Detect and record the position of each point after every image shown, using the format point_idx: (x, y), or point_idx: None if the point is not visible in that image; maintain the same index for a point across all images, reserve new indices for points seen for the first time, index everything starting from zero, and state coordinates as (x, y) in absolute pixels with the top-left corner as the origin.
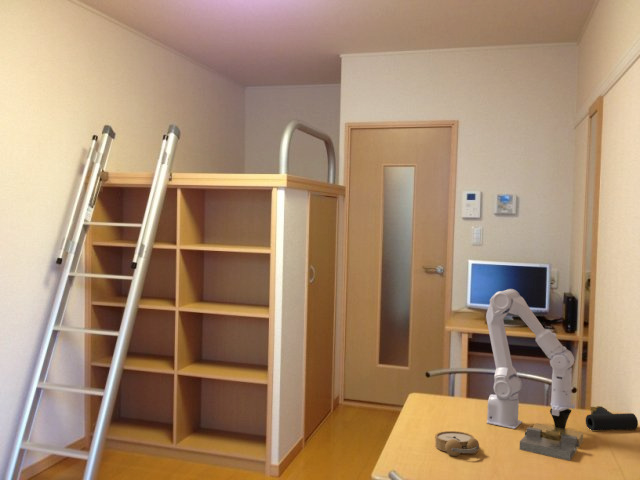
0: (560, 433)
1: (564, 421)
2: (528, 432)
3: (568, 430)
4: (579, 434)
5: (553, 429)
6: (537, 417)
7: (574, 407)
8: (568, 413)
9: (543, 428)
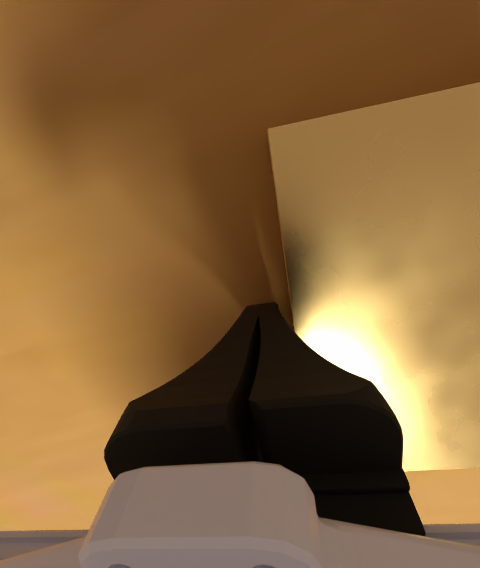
0: (455, 292)
1: (318, 356)
2: None
3: (312, 270)
4: (365, 134)
5: (375, 365)
6: (83, 472)
7: (182, 472)
8: (318, 412)
9: (402, 419)
